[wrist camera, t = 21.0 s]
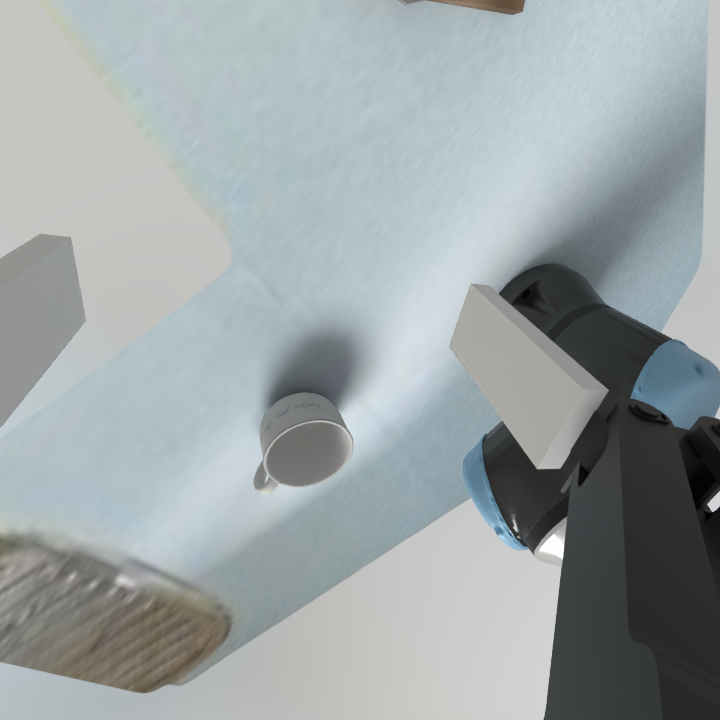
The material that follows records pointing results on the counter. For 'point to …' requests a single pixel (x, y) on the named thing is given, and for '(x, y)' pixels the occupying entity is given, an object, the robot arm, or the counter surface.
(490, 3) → the walnut board
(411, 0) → the can
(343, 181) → the counter surface
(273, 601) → the counter surface
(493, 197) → the counter surface
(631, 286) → the counter surface
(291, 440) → the teacup
